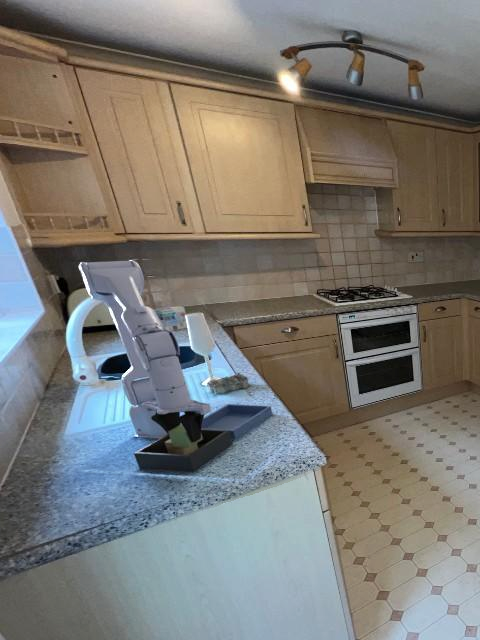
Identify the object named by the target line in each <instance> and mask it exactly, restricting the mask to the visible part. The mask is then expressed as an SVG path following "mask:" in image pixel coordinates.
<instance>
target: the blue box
mask: <svg viewBox="0 0 480 640" xmlns="http://www.w3.org/2000/svg"><path fill="white" fill-rule="evenodd" d="M272 415H273V410H272V406H271V405H257V404H255V405H253V404H238V403H236V404H235V403H227V404H225V405H224V406H222V407H220V408H218V409H216V410H215V411H213V412H210V414H209V413H208V414H207V415H206V416H204V418H203V421H202V426H201V429H213V430H229V432H230V436H231V439H232V441H233V440H235V441H236V440H237V439H239V438H240V437H242V436H243V435H245V434H246V433H248V432H249V431H250V430H252V429H253V428H255V427H256V426H257V425H259V424H261V423H262V422H264V421H265V420H266V419H268V418H270V417H271V416H272Z"/></svg>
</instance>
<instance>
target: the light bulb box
mask: <svg viewBox="0 0 480 640" xmlns="http://www.w3.org/2000/svg"><path fill="white" fill-rule="evenodd" d="M153 310H154V311H155V312H156V314H157V316H158V317H159V319H160V321H161V322H162V324H163V326H164V327H167V328H168V329H170V330H171V331H172V332H173V331H179V330H183V329H188V327H187V321H186V315H187V313H186V309H185V307H184V306H179V305H174V306H167V307H162V308H156V309H154V308H153Z"/></svg>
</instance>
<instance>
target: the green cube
mask: <svg viewBox="0 0 480 640" xmlns="http://www.w3.org/2000/svg"><path fill="white" fill-rule="evenodd" d="M168 433H169V436H170V439H171V442H172V445H173V447H186V448H190V447H191V446H193V445H195V444H196V443H198V442H199V441H201V440H203V437H202V434H201V439H199V440H197V441H196V442H191V440H190V439H189V437H188V435H187V432H186V430H185V428H184V427H183V425H182V424H181V425H179V426H177V427H175V428H174V429H172V430H170V431H168Z"/></svg>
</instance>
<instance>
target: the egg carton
mask: <svg viewBox="0 0 480 640" xmlns="http://www.w3.org/2000/svg"><path fill="white" fill-rule="evenodd" d="M220 378H221V379H218V380H211V381H209V382H208V383H207V385H209V386H208V387H209V391H210V393H214V394H215V395H219V394H225V393H226V392H228V391H237V390H239V389H247V388H248V387H249V386H250V384H249V381H250V378H248V377H247V376H246V375H244V374H242V373H241V372H237V373H236V374H233V375H230V376H225V377H220Z"/></svg>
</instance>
